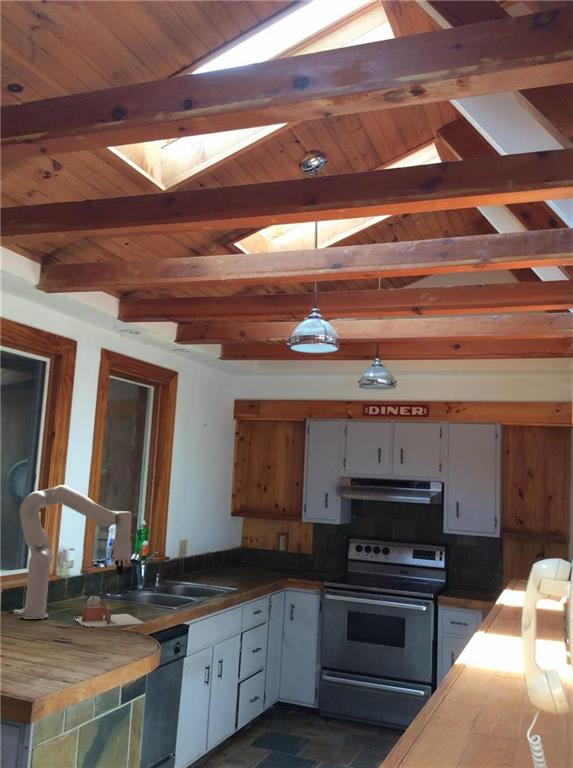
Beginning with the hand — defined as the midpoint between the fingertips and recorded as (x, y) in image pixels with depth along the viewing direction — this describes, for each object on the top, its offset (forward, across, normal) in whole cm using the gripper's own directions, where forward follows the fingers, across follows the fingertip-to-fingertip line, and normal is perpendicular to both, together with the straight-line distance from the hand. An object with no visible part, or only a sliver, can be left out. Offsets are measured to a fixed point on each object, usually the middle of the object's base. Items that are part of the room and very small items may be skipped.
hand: (119, 574), depth 330 cm
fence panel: (+20, +10, +7) cm, 24 cm away
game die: (+21, -1, -21) cm, 30 cm away
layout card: (+21, +7, +3) cm, 22 cm away
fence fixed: (+21, +12, 0) cm, 24 cm away
